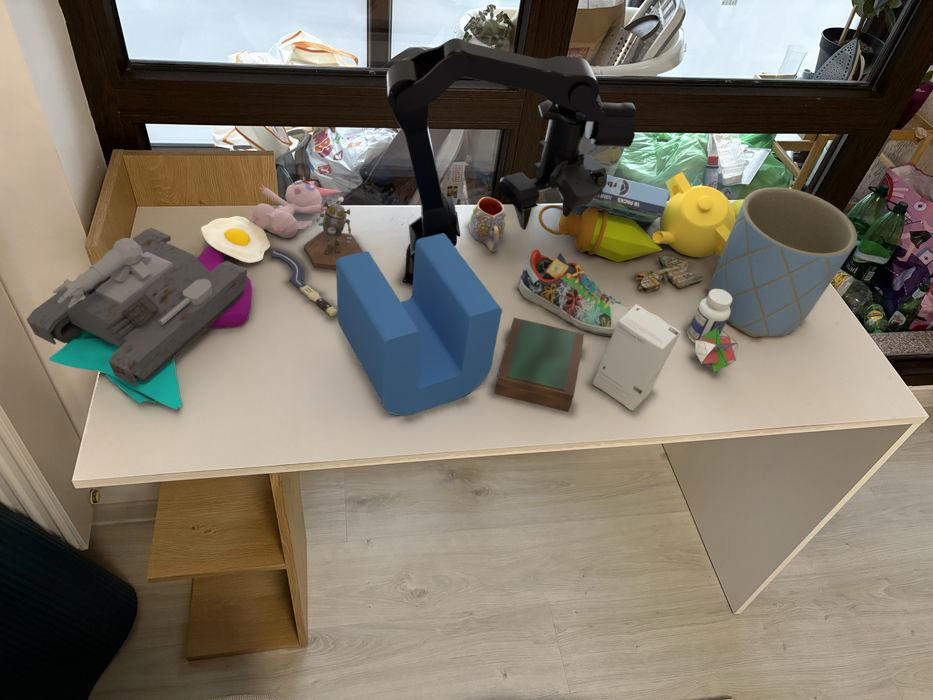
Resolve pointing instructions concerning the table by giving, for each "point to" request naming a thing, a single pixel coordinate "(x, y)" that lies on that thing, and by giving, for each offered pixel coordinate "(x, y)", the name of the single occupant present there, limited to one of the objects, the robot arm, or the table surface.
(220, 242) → the fried egg
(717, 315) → the pill bottle
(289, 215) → the toy
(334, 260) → the robot figurine
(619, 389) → the cosmetic box
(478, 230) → the mug
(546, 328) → the framed green board
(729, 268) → the planter
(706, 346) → the geometric puzzle
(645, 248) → the plumb bob
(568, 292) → the sneaker
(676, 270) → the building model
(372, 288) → the block
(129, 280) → the toy
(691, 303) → the table surface
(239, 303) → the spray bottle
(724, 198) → the teapot
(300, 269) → the decorative blade
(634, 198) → the gum box
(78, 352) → the cloth
